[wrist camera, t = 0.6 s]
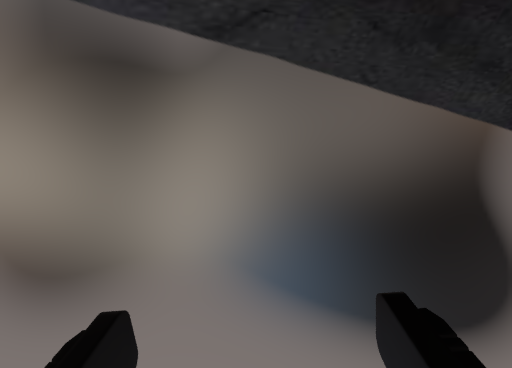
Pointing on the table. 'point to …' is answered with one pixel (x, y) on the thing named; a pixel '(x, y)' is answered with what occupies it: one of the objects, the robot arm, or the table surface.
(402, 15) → the table surface
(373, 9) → the table surface
